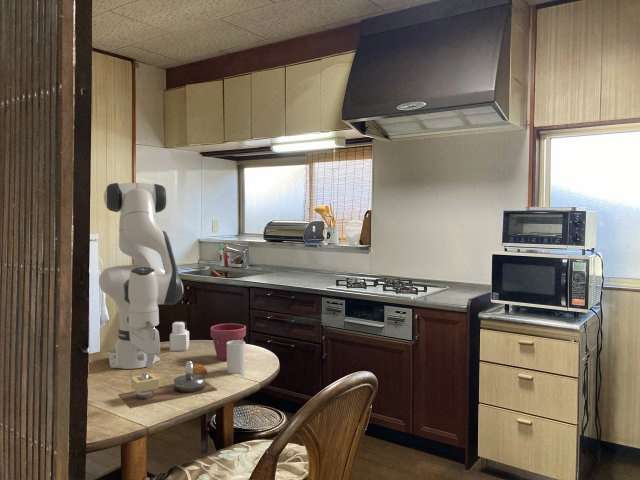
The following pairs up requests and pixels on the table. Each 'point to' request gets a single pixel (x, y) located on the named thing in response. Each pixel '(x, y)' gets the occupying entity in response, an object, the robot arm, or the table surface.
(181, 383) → the hub
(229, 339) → the plant pot
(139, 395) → the silver knob
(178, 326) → the medicine bottle
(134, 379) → the collar
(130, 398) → the base board
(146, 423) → the table surface
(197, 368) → the pastry
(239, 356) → the mug
